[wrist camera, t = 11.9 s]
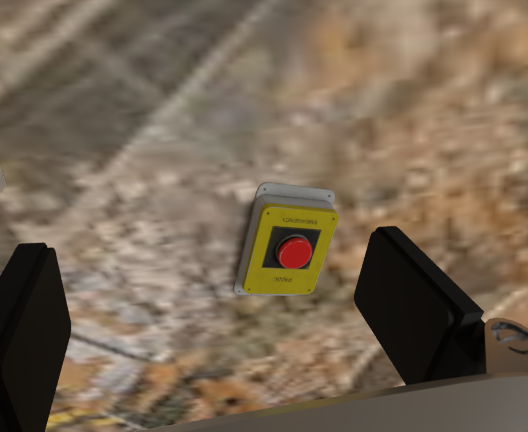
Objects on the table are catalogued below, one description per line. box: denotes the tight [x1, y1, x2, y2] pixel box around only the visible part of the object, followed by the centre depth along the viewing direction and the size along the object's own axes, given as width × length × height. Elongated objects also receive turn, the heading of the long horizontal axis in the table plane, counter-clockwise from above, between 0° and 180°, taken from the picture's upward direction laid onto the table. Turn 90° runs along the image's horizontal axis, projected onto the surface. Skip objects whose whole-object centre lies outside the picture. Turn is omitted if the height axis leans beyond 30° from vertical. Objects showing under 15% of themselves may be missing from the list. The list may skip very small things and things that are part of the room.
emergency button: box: [234, 182, 339, 296], centre depth 42 cm, size 9×4×15 cm
